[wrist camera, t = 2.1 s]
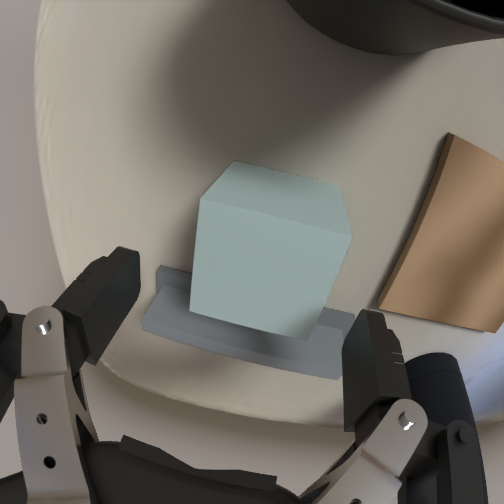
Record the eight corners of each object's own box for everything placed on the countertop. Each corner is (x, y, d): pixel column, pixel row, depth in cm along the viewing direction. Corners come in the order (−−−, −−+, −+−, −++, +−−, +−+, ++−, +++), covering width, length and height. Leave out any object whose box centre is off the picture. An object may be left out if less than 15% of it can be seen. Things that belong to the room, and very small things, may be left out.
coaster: (560, 201, 12) (567, 206, 11) (491, 326, 18) (495, 333, 17) (448, 132, 12) (454, 135, 11) (377, 300, 18) (379, 308, 17)
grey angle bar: (354, 314, 19) (359, 361, 15) (337, 344, 20) (339, 390, 17) (160, 265, 19) (133, 303, 16) (160, 298, 21) (136, 338, 18)
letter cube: (338, 186, 15) (352, 237, 10) (308, 275, 18) (305, 344, 13) (234, 160, 15) (200, 198, 11) (219, 252, 18) (189, 314, 14)
